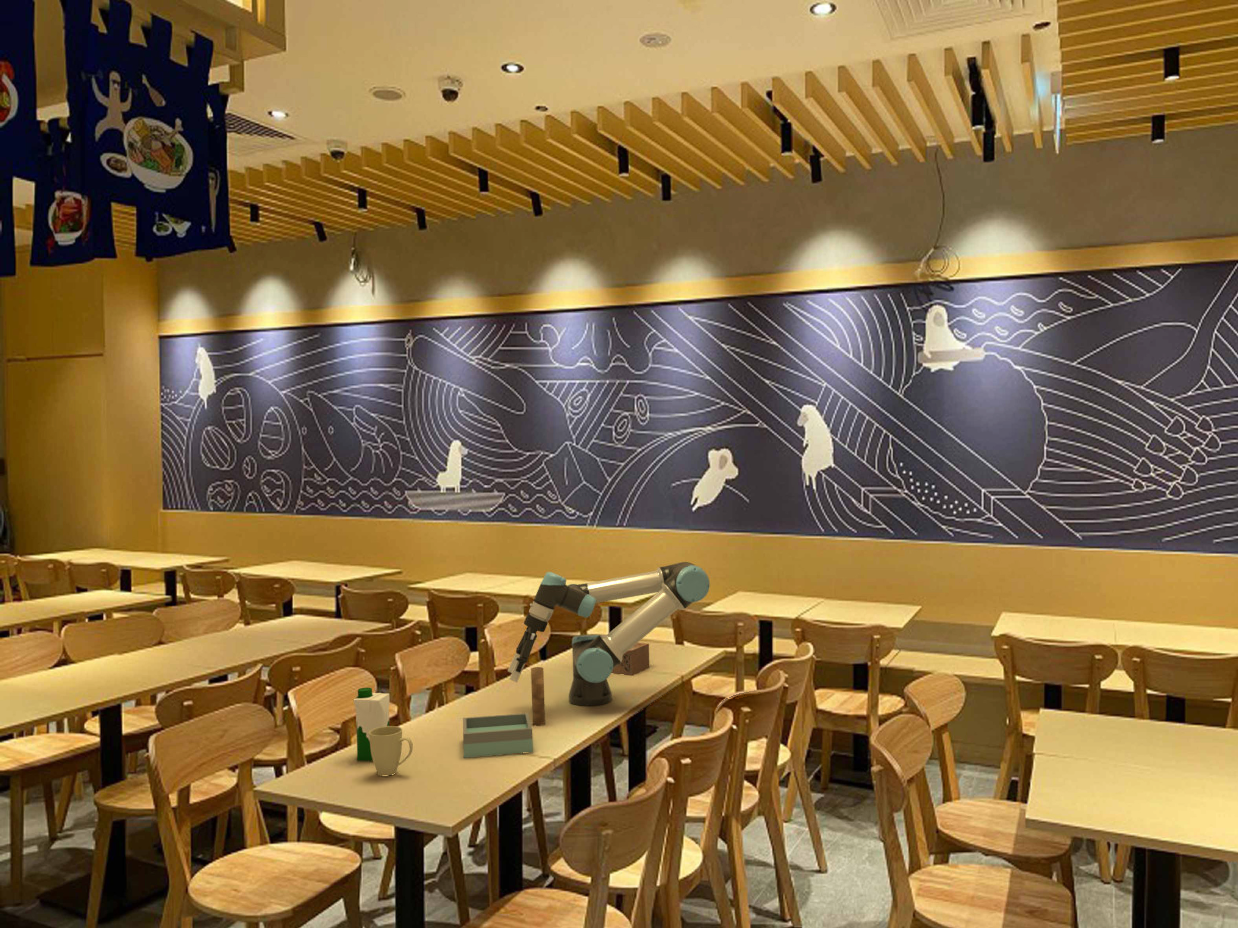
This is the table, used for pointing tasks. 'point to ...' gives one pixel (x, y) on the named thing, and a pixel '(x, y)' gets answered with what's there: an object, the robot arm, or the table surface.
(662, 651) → the table surface
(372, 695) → the milk carton
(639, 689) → the table surface
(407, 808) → the table surface
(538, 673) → the peg
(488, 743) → the box
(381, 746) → the mug
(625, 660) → the tissue box cover
